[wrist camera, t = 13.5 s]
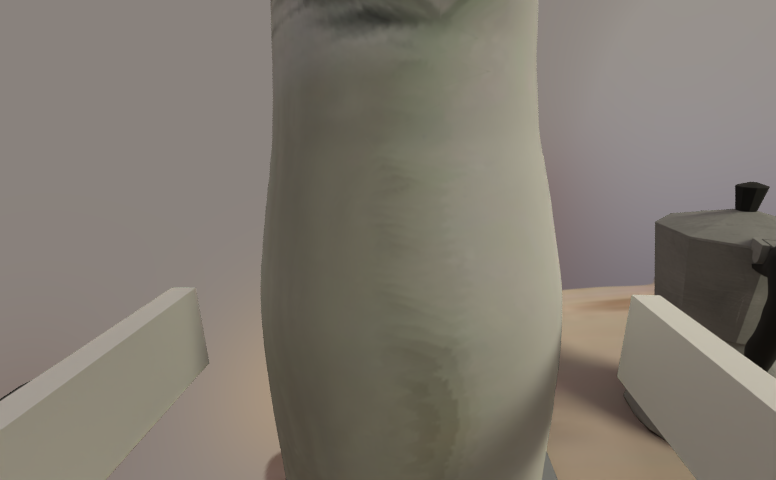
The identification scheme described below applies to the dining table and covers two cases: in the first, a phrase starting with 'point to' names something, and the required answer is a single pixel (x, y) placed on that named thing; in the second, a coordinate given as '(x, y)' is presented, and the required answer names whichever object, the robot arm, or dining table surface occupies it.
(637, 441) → the dining table surface
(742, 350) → the coffeepot
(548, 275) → the grey green rounded cylinder
